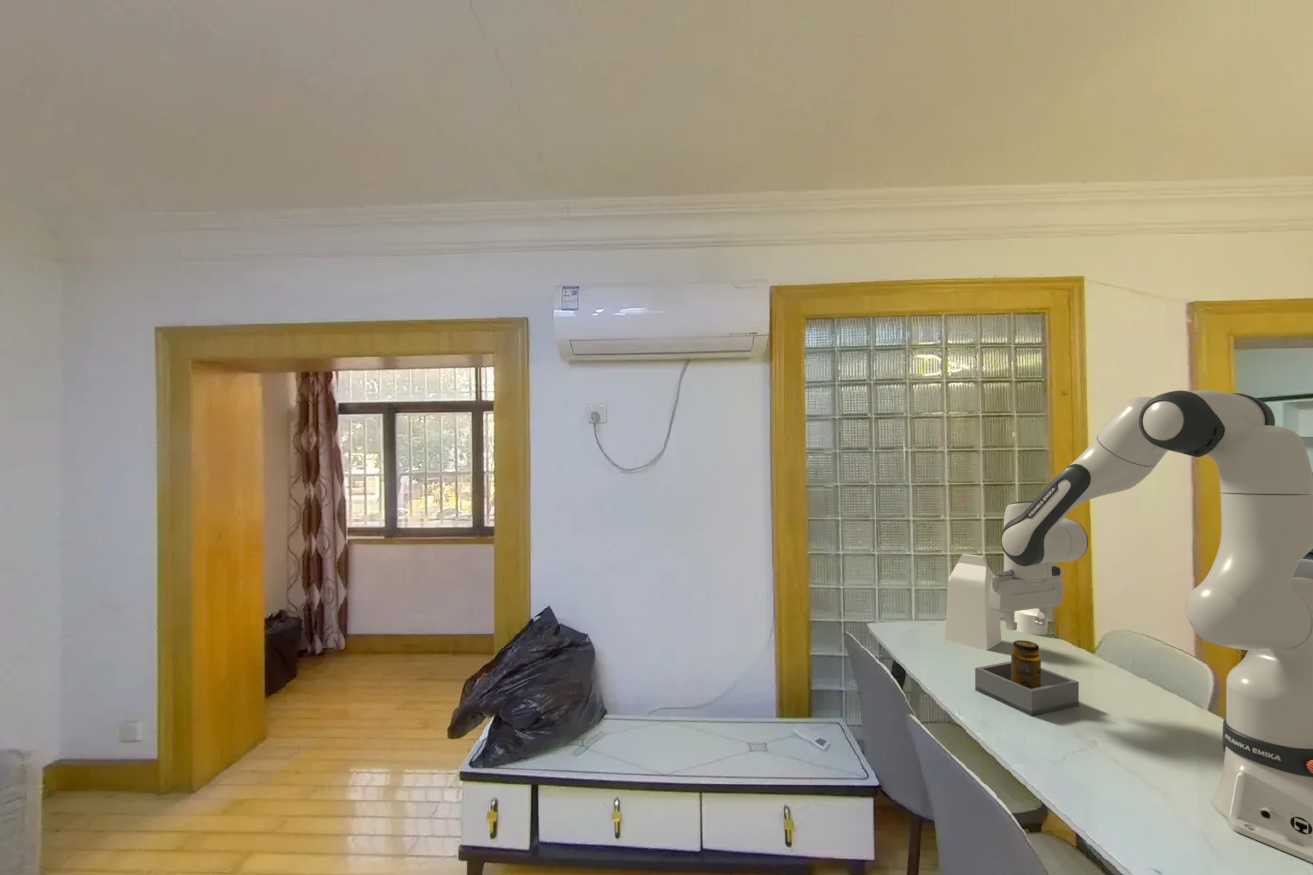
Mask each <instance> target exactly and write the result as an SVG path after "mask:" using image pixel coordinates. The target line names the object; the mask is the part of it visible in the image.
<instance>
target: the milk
mask: <svg viewBox="0 0 1313 875" xmlns="http://www.w3.org/2000/svg"><path fill="white" fill-rule="evenodd" d="M994 575H995V574H994V572H993V571H992V570H991V568H990V566H988V563H987V560H986V558H985V556H983V555H977V554H968V553H962V554H961V555H960V557H959V560H958V561H957V563H956V565H955V567H954V568H953V570H952V571H951V573H950V575H949V577H948V580H947V592H946V594H947V595H946V612H945V629H944V630H945V633H944V641H945V640H949V641H952V642H951V643H953V642H956V643H955V644H957V643H960V644H959V645H962V644H963V646H965V647H966V646H967V647H970V646H971V648H974V649H979V650H982V649H985V650H984V651H988V649H989V650H990V649H992V648H993V647H995V646H996V645H999V643H1002V633H1001V632H1002V630H1001V614H1000V613H1001V612H997V611H994V610H991V608H990V607H989V591H990V585H991V582H992V577H994ZM949 641H948V642H949Z"/></svg>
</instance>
